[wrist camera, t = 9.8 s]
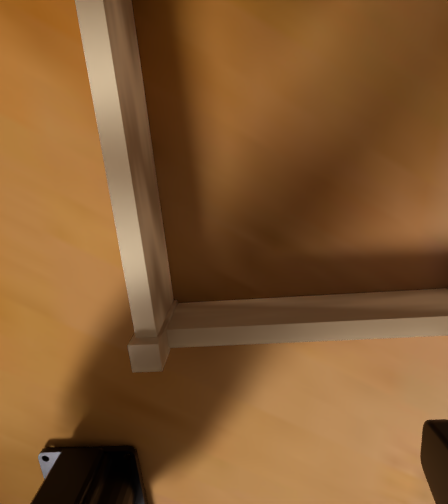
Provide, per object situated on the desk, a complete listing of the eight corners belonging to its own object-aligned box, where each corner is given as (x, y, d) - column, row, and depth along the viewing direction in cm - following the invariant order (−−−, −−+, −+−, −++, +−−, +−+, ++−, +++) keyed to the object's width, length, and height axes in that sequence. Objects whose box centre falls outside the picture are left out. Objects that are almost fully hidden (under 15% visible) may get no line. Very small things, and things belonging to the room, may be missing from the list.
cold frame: (474, 307, 20) (540, 356, 15) (156, 323, 21) (132, 372, 17) (528, -125, 14) (654, -242, 10) (95, -62, 16) (36, -140, 11)
